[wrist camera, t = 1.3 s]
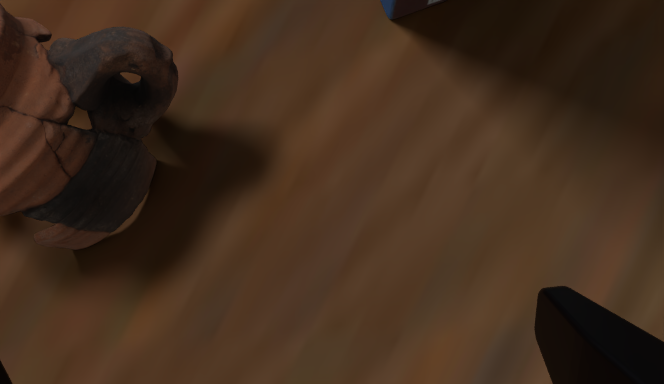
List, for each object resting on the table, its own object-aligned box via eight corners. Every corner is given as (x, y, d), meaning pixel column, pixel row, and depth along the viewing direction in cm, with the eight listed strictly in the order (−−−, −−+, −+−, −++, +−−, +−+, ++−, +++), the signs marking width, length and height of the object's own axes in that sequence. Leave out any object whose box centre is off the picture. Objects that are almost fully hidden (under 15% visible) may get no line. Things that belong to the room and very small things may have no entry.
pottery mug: (30, 299, 24) (-190, 233, 17) (35, 149, 29) (-132, 55, 23) (247, 172, 22) (87, 39, 15) (210, 33, 27) (80, -109, 20)
